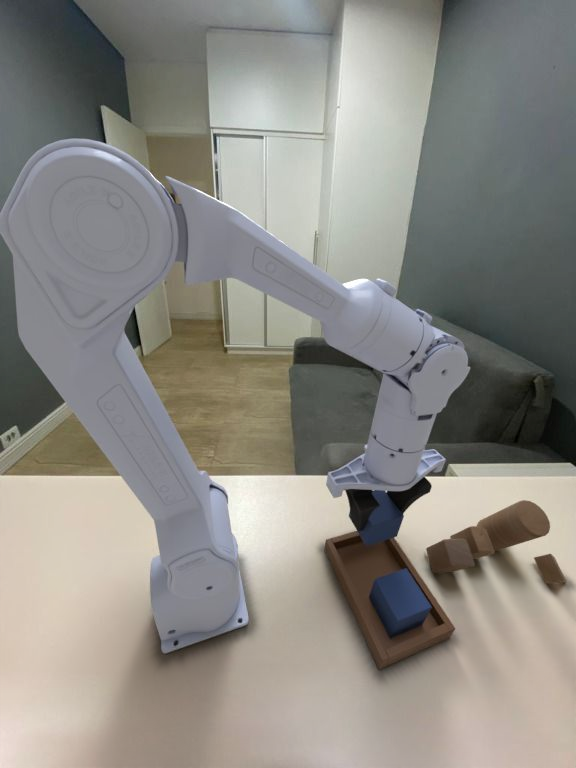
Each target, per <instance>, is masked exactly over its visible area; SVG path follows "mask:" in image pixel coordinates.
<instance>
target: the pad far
mask: <svg viewBox="0 0 576 768" xmlns="http://www.w3.org/2000/svg"><path fill="white" fill-rule="evenodd" d="M372 494H373V496H374V497H375V499H376V500H377V502H378V503H379V504H380V506H378V507H377V508H376V509H375V510H374V511H373V512H372V513H371V515H370V517H369V519H368V522H367V525H366V527H365V528H364V530H362V531H358V530H357V529H356V527H355V525H354V524H353V522H352V520H351V514H350V511H348V512H349V513H348V518H349V519H350V521H351V523H352V524H353V526H354V528H355V531H358V533H359V535H360V537H361V538H362V540H363V542H364V543H365V545H366V546H369V545H372V544H375V543H378V542H381V541H385V540H388V539H391V538H397V537H398V534H399V532H400V529H401V527H402V523H403V520H404V517H405V515H404V513H403V514H402V513H401V511H400V510H399V509H398V507H397V506H396V505H395V503H394V502H393V501H392V499H391V498H390V497H389V495H388V494H387V491H381V490H373V491H372Z"/></svg>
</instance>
